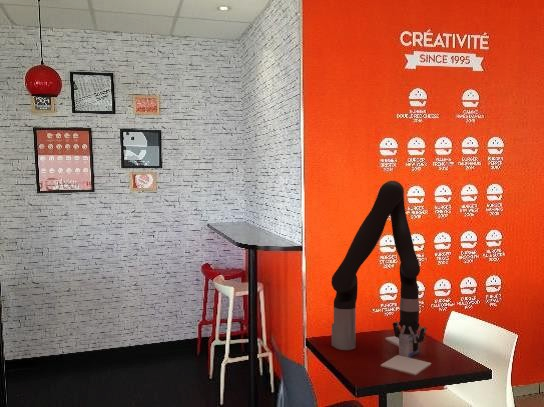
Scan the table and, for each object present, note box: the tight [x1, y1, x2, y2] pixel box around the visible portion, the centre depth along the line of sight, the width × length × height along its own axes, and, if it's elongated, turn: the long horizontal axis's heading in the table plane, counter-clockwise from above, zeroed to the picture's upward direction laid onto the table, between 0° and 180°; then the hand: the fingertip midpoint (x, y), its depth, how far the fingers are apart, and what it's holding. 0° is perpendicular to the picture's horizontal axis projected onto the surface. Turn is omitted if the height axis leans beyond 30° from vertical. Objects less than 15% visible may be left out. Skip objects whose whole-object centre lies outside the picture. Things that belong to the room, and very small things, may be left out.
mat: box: [380, 354, 432, 376], centre depth 190 cm, size 14×14×1 cm
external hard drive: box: [385, 335, 399, 348], centre depth 217 cm, size 2×8×12 cm
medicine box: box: [398, 332, 420, 358], centre depth 202 cm, size 8×4×9 cm, turn 131°
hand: (409, 349), depth 202 cm, fingers closed on medicine box, 4 cm apart
